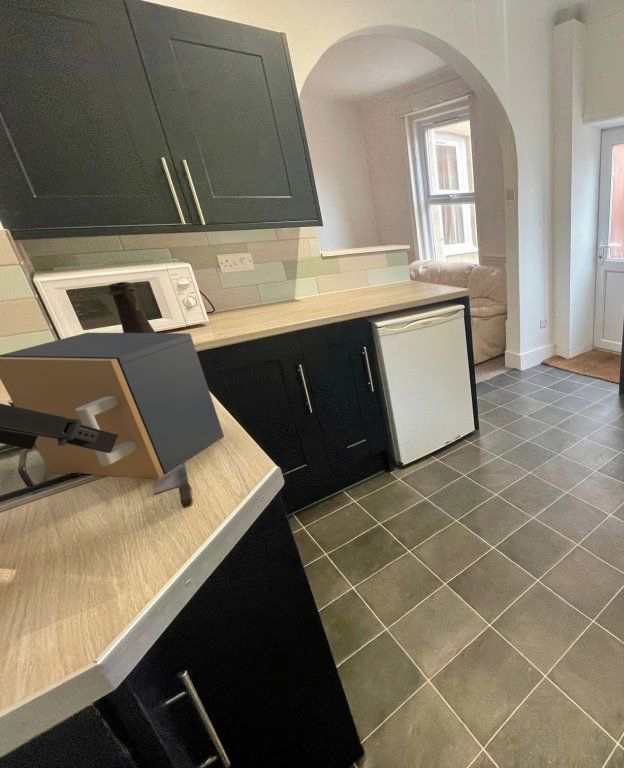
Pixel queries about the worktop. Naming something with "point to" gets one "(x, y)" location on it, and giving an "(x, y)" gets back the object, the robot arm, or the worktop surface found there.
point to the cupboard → (153, 386)
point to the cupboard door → (83, 413)
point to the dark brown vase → (129, 309)
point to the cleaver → (175, 483)
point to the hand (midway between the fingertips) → (72, 442)
